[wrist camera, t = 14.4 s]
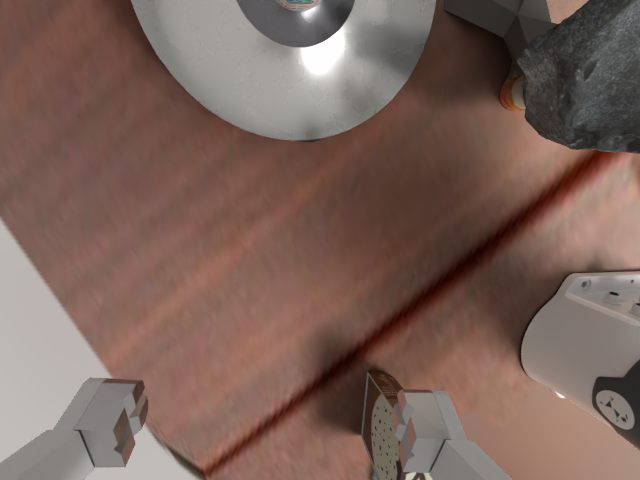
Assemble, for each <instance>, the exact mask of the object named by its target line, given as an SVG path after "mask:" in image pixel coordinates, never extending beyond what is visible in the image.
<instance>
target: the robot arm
mask: <svg viewBox="0 0 640 480" xmlns="http://www.w3.org/2000/svg"><path fill="white" fill-rule="evenodd" d="M521 360H522V365H523V368H524V370H525V372H526V373H527V374H528V376H529V377H530V378H532V379H533V380H535V381H537V382H539V383H541V384H544V385H545V386H547V387H549V389H550V390H551V391H552V392H553V393H554V394H556V395H557V396H558V397H560V398H567V399H568V400H570V401H572V402H573V403H575V404H576V405H578V406H579V407H581V408H582V409H584V410H585V411H587V412H588V413H590V414H592V415H593V416H595V417H596V418H598V419H599V420H601V421H603V422H604V423H606V424H607V425H609V426H611V427H613V428H614V429H615V431H616V432H617V433H618V434H620V435H621V436H622V437H624V438H625V439H626V440H627V441H629V442H630V443H631V444H633V445H634V447H635V448H637V449H638V450H640V271H632V272H601V273H574V274H571V275H569V276H568V277H567V278H566V279H565V281H564V282H563V283H562V285H561V287H560V288H559V290H558V292H557V293H556V295H555V296H554V297H553V298H552V299H551V300H550V301H549V302H548V303H547V304H546V305H544V306H543V307H542V309H541V310H540V311H539V312H538V313H537V314H536V316H535V317H534V318H533V320H532V322H531V323H530V325H529V327H528V329H527V331H526V333H525V336H524V339H523V343H522V348H521ZM144 388H145V386H144V383H143V380H126V379H108V378H89V379H88V380H87V381H85V382H84V383H83V385H82V386H81V388H80V389H79V391H78V392H77V394H76V396H75V397H74V399H73V400H72V402H71V403H70V405H69V406H68V408H67V409H66V411H65V412H64V414H63V415H62V417H61V418H60V420H59V421H58V423H57V424H56V426H55V427H54V429H53V430H47V431H45V432H44V433H42V434H41V435H40V436H38V437H36V438H35V439H34V440H32V441H31V442H30V443H28V444H27V445H25V446H24V447H22V448H21V449H20V450H18V451H17V452H15V453H14V454H12V455H11V456H10V457H8V458H7V459H5V460H4V461H2V462H1V463H0V480H84V479H85V478H86V477H87V476H88V475H89V474H90V473H91V472H92V471H93V470H94V467H125V466H126V464H127V462H128V459H129V457H130V455H131V453H132V450H133V448H134V446H135V441H134V437H133V436H134V435H135V434H136V433H137V432H138V431H140V430H141V429H142V427H143V425H144V422H145V420H146V416H147V411H148V399H147V396H146V395H144V394H143V390H144ZM397 397H398V401H399V402H398V403H396V404H395V405H394V408H393V412H392V423H393V430H394V435H395V436H396V437H397V439H398V440H399V441H400V445H399V448H398V452H399V457H400V461H401V465H402V470H403V472H416V473H430V474H429V475H430V476H431V478H432V479H433V480H513V479H511V478H510V477H509V476H508V475H507V474H506V473H505V472H504V471H503V470H502V469H501V468H500V467H499V466H498V465H497V464H496V463H495V462H494V461H493V460H492V459H491V458H490V457H489V456H488V455H487V454H486V453H485V452H484V451H483V450H482V449H481V448H480V447H478V446H477V445H476V444H475V443H474V442H473V441H471V440H467V437H466V435H465V433H464V430H463V428H462V425H461V423H460V420H459V418H458V415H457V413H456V410H455V408H454V406H453V403H452V401H451V398H450V396H449V394H448V393H447V392H446V391H439V390H415V389H401V390H400V391H399V392H398V395H397Z"/></svg>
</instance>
